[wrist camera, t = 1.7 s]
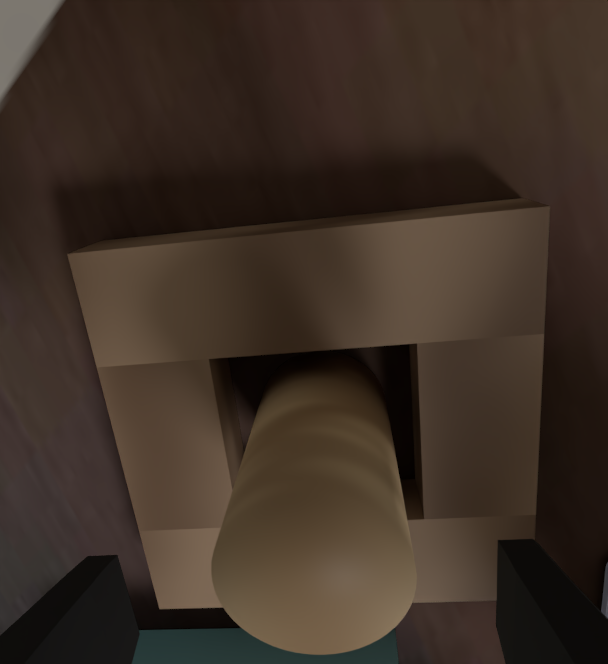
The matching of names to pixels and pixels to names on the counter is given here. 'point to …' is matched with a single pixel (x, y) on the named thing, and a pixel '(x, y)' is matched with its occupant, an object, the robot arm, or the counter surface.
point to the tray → (245, 649)
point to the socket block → (328, 334)
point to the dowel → (317, 514)
